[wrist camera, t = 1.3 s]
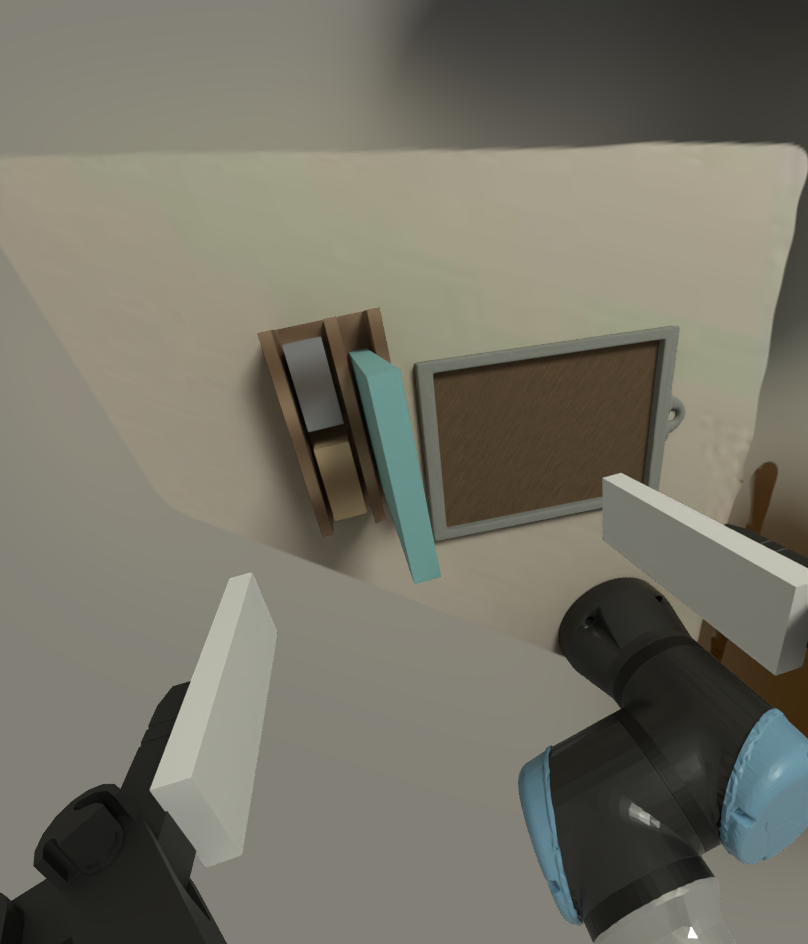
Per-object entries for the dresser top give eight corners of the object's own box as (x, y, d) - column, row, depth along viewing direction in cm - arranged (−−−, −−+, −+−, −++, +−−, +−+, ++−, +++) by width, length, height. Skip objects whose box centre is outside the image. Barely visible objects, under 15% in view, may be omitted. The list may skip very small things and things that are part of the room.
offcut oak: (363, 495, 40) (367, 512, 36) (334, 503, 40) (335, 521, 36) (346, 430, 37) (348, 441, 34) (315, 437, 37) (313, 450, 33)
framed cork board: (415, 363, 36) (704, 322, 40) (412, 362, 38) (690, 322, 41) (434, 542, 43) (678, 493, 47) (431, 535, 45) (667, 488, 48)
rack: (410, 490, 42) (421, 510, 37) (323, 512, 41) (322, 536, 36) (372, 309, 35) (379, 307, 30) (266, 332, 34) (257, 333, 29)
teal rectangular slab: (393, 471, 40) (440, 576, 23) (378, 474, 39) (414, 584, 23) (366, 348, 35) (400, 369, 18) (348, 352, 35) (366, 377, 18)
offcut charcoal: (342, 413, 37) (343, 423, 33) (310, 421, 36) (308, 432, 33) (321, 335, 34) (320, 336, 30) (287, 343, 34) (282, 345, 30)
